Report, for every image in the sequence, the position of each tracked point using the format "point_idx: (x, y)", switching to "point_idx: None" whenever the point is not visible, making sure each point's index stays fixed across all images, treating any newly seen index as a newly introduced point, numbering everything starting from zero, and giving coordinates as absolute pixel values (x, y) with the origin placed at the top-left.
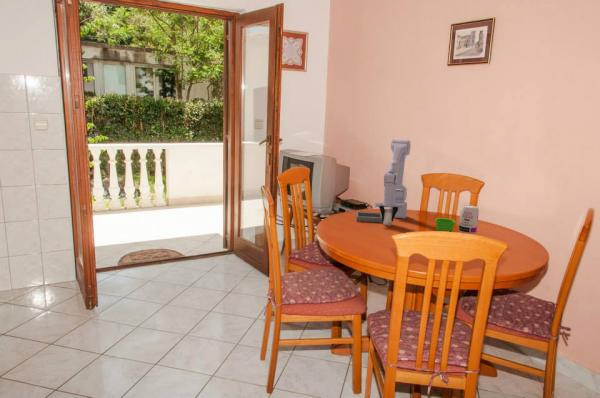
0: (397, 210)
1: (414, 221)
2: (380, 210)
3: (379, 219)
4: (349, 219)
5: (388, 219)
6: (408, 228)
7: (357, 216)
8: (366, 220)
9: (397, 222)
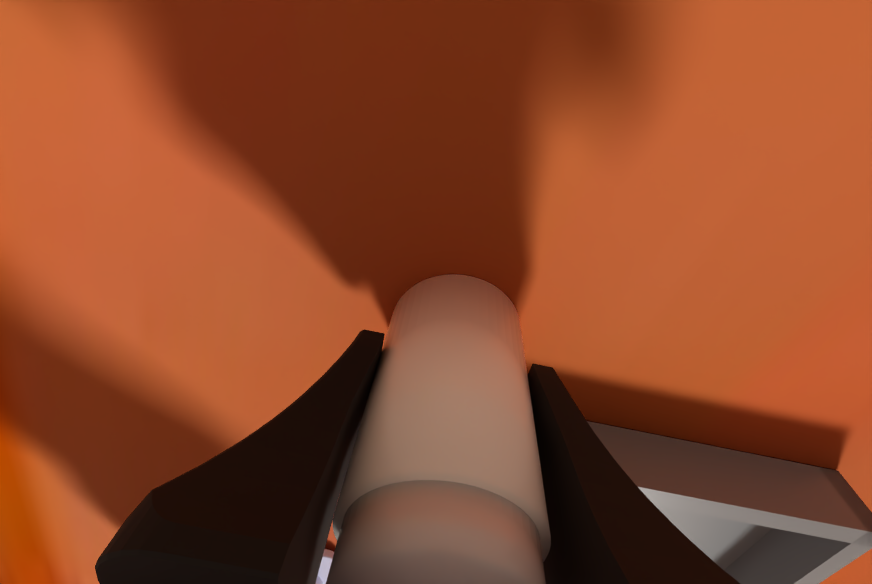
0: (156, 495)
1: (65, 430)
2: (729, 575)
3: None
4: None
5: (461, 339)
6: (117, 71)
7: (866, 546)
8: (720, 462)
9: (278, 405)
